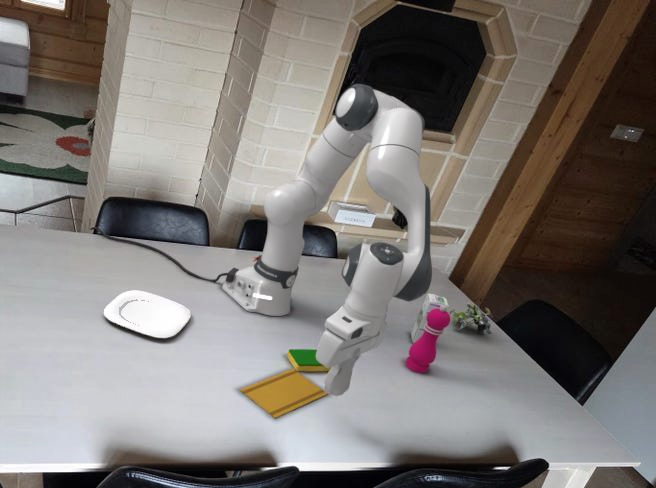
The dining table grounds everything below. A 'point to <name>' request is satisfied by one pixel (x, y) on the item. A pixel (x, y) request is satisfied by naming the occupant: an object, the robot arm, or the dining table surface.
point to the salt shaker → (340, 377)
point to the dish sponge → (305, 360)
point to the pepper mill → (428, 341)
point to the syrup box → (428, 305)
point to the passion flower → (478, 318)
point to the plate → (148, 314)
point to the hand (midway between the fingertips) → (341, 370)
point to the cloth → (283, 392)
